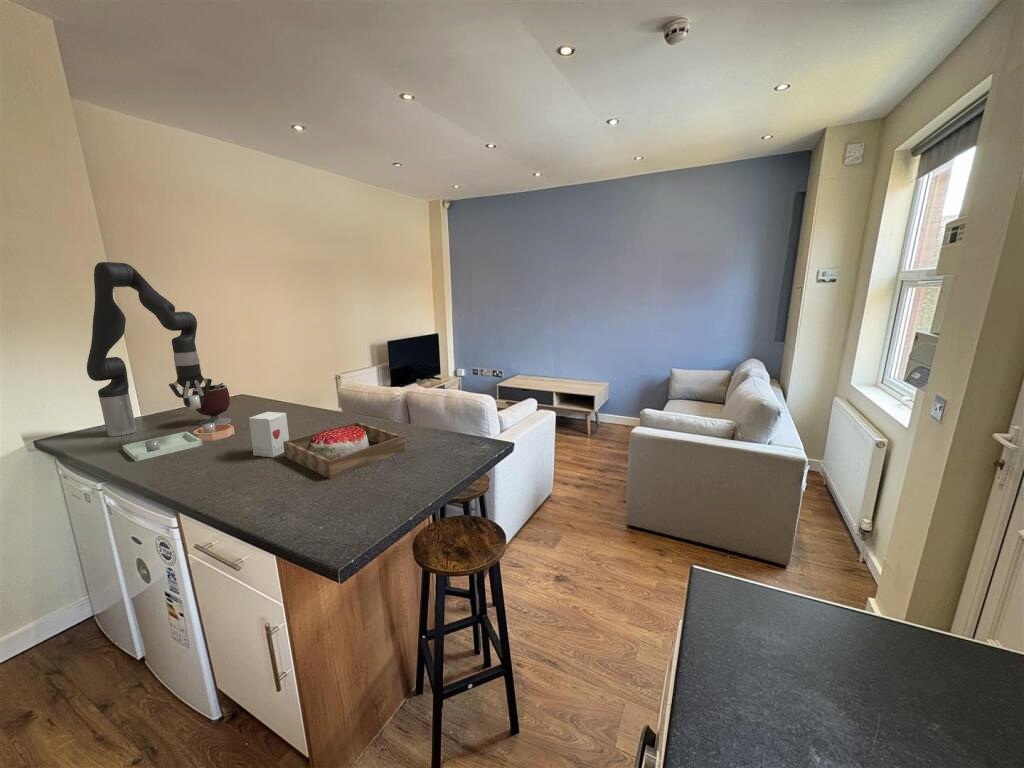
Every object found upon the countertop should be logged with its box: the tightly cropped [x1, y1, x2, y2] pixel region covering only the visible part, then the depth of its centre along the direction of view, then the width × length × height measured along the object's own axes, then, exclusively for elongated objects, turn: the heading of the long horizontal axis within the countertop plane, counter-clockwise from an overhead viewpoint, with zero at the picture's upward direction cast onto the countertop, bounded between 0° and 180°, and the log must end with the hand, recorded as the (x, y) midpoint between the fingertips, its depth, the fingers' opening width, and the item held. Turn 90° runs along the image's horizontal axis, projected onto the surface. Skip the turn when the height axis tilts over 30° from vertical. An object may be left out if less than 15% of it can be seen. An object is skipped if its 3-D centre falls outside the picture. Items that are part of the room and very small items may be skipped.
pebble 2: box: [188, 394, 201, 410], centre depth 160 cm, size 4×4×5 cm
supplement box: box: [248, 411, 290, 458], centre depth 152 cm, size 9×9×15 cm
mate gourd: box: [191, 382, 232, 428], centre depth 187 cm, size 16×14×20 cm
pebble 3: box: [202, 423, 215, 433], centre depth 169 cm, size 4×4×5 cm
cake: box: [307, 426, 370, 460], centre depth 151 cm, size 23×24×10 cm
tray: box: [121, 431, 204, 462], centre depth 155 cm, size 18×20×3 cm
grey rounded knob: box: [145, 439, 160, 452], centre depth 149 cm, size 4×4×5 cm
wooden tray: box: [283, 421, 406, 480], centre depth 152 cm, size 31×30×6 cm
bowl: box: [192, 423, 235, 442], centre depth 169 cm, size 13×13×4 cm
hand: (194, 405), depth 160 cm, fingers closed on pebble 2, 3 cm apart
